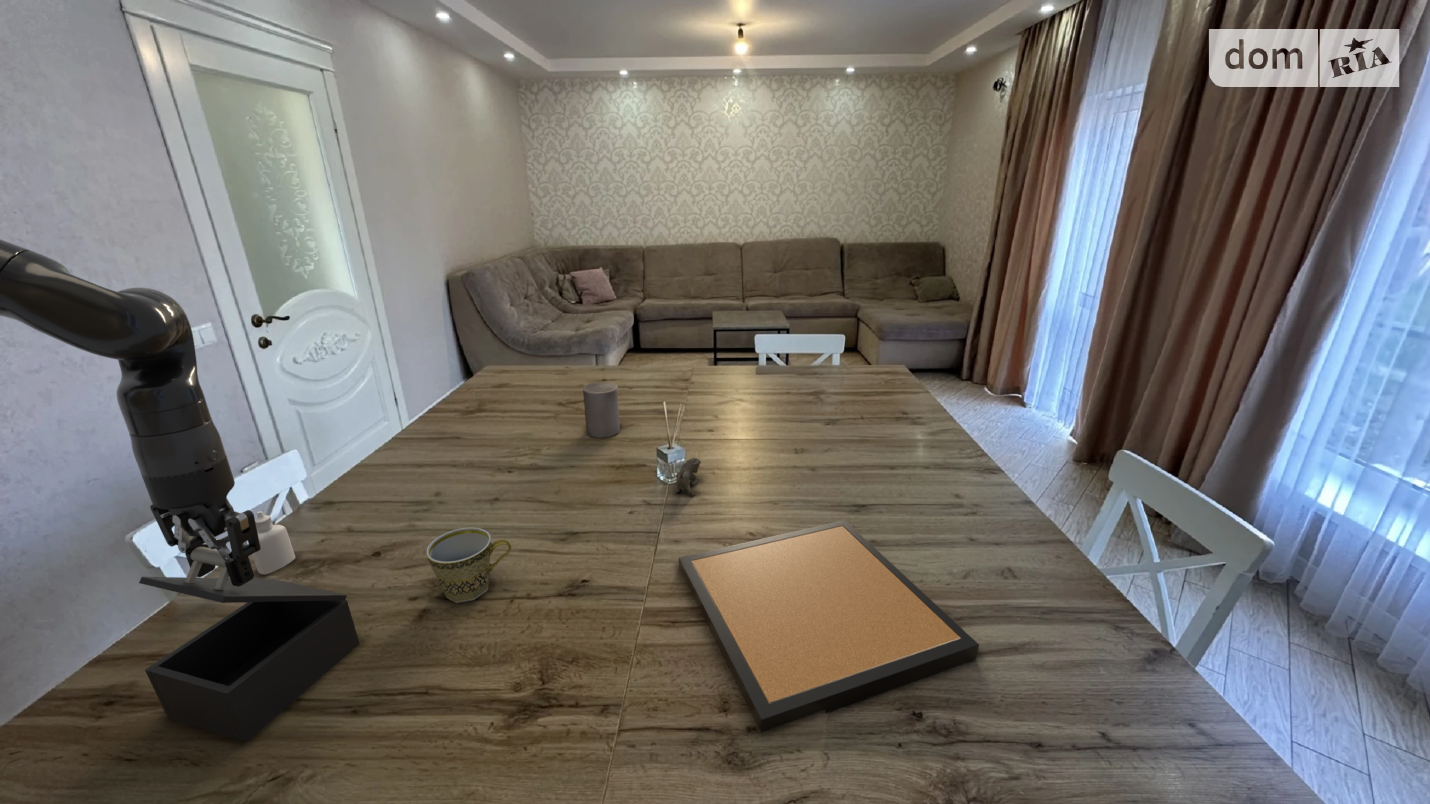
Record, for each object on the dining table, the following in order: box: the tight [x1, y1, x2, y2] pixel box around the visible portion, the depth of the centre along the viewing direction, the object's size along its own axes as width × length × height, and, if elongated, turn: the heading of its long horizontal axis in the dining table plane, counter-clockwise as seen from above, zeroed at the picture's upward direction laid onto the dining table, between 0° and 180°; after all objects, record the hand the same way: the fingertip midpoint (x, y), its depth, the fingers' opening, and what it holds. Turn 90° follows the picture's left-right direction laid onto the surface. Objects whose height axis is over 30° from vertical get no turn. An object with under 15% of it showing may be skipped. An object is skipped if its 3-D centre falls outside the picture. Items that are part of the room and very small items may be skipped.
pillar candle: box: [582, 381, 621, 439], centre depth 158 cm, size 10×10×15 cm
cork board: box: [678, 519, 980, 733], centre depth 91 cm, size 36×3×35 cm
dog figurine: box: [675, 457, 702, 497], centre depth 129 cm, size 12×6×7 cm, turn 168°
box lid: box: [138, 547, 348, 604], centre depth 75 cm, size 18×14×5 cm
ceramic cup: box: [425, 527, 512, 604], centre depth 94 cm, size 13×10×10 cm
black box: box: [144, 599, 360, 743], centre depth 77 cm, size 17×14×9 cm
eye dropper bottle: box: [247, 510, 296, 576], centre depth 100 cm, size 4×6×12 cm
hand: (224, 577), depth 71 cm, fingers closed on box lid, 6 cm apart
